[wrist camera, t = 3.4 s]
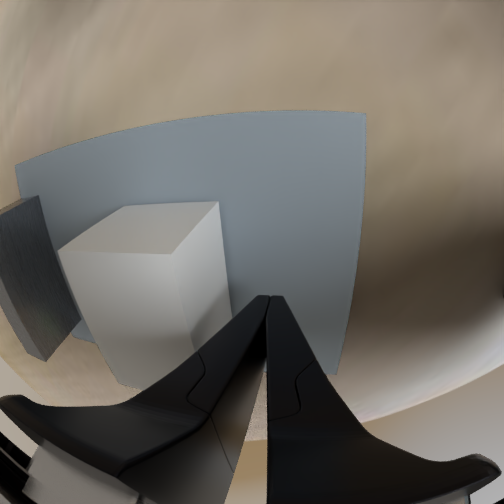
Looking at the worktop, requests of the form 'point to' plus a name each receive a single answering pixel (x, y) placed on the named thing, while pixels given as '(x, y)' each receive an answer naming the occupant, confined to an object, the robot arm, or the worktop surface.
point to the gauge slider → (150, 286)
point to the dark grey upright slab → (33, 280)
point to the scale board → (232, 202)
